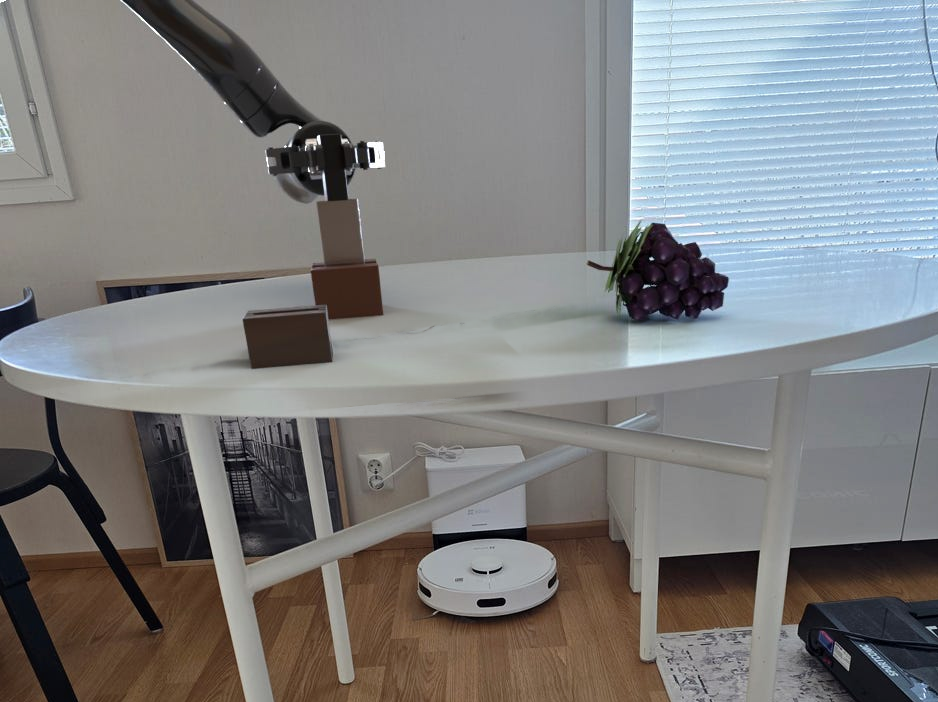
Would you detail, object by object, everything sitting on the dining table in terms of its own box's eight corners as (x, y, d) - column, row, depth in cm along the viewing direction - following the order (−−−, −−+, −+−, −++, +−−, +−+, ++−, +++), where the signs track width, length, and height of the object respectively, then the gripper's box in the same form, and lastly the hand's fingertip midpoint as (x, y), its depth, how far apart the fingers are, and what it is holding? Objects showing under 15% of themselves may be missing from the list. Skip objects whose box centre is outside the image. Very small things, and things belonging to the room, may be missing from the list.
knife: (366, 280, 94) (350, 133, 87) (326, 283, 93) (306, 135, 86) (366, 277, 97) (349, 134, 90) (327, 280, 96) (307, 136, 89)
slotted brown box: (389, 331, 94) (382, 265, 91) (316, 337, 93) (306, 270, 90) (385, 320, 101) (379, 258, 98) (318, 326, 101) (309, 263, 97)
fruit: (711, 353, 89) (572, 320, 90) (707, 319, 97) (580, 289, 98) (747, 252, 83) (597, 217, 83) (740, 224, 91) (603, 192, 91)
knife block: (333, 370, 77) (325, 312, 75) (252, 377, 76) (242, 318, 74) (333, 359, 82) (326, 304, 79) (257, 366, 81) (247, 310, 78)
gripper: (254, 126, 98) (258, 117, 83) (374, 119, 101) (398, 109, 86) (266, 199, 102) (272, 203, 87) (381, 191, 104) (405, 193, 90)
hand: (334, 156), depth 87 cm, fingers closed on knife, 2 cm apart
